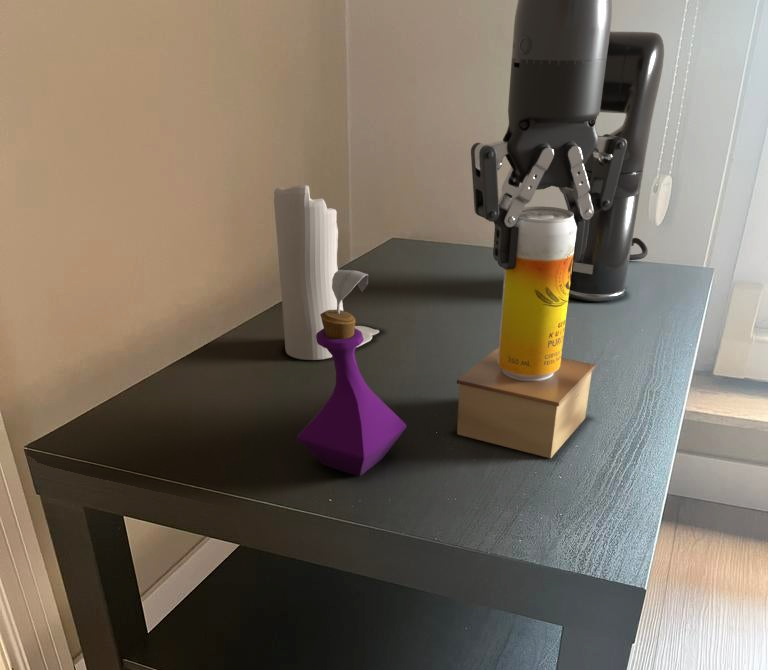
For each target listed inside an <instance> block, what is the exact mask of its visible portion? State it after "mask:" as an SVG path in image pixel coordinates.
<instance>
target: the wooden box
mask: <svg viewBox="0 0 768 670" xmlns="http://www.w3.org/2000/svg"><path fill="white" fill-rule="evenodd" d="M498 350H499V346H498V347H497V348H495V349H494V350H493V351H492V352H490V353H489V354H488V355H486V356H485V357H484V358H483V359H482V360H480V361H479V362H478V363H476V364H475V365H473V367H471V368H470V369H468V371H466V372H465V373H464V374H462V375H461V376H459V378H457V379H456V384H458V385H459V388H458V405H457V406H458V408H457V426H456V427H457V428H456V429H457V430H456V435H458V436H462V437H466V438H470V439H472V440H473V439H474V440H478V441H482V442H484V443H488V444H493V445H496V446H499V447H504V448H509V449H513V450H517V451H519V452H523V453H528V454H532V455H535V456H540V457H543V458H547V459H552V458H553V457H554V456H555V454H556V453H557V452H558V451H559V449H560V448H561V447H562V446H563V445H564V443H566V442H567V440H568V439H569V438H570V436H571V435H572V434H574V432H575V431H576V430H577V429H578V427H579V426H580V425H581V424H582V423H583V421H584V420H585V419H586V414H587V409H588V408H587V407H588V401H589V394H590V387H591V382H592V381H591V380H592V375H593V374H592V373H593V371H594V370H595V369H596V364H594V363H589V362H584V361H580V360H575V359H569V358H564V357H561V362H560V367H559V369H558V370H557V371H555V372H554V374H553V375H552V376H551V377H550V378H548V379H545V380H541V381H522V380H517V379H513V378H510V377H508V376H507V375H505V374H504V373H503V371H502V368H501V367H500V366H499V365H498Z"/></svg>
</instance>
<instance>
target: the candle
mask: <svg viewBox="0 0 768 670" xmlns="http://www.w3.org/2000/svg"><path fill="white" fill-rule="evenodd" d="M273 196H274V197H273V206H274V207H273V208H274V219H275V233H276V244H277V255H278V256H277V257H278V271H279V272H278V273H279V281H280V283H279V284H280V293H281V305H282V321H283V334H284V335H283V336H284V347H285V348H284V349H285V353H286V354H287V355H288V356H289V357H291V358H294V359H297V360H303V361H318V360H326V359H331V358H333V357H332V355H331V353H330V352H329V351H328V350H327V348H324V347H322V346H320V345H319V344H318V343H317V339H316V335H317V333H318V332H319V331H320V330H322V329H323V328H324V327H323V323H322V319H321V315H320V314H322V313H323V312H325V311H327V310H337V300H336V297H335V295H334V292H333V289H332V279H333V276H334V274H335V273H336V272H337V271H338V270H339V269H338V246H339V245H338V244H339V243H338V241H339V240H338V239H339V229H338V223H337V222H338V221H337V219H338V217H337V215H338V214H337V210H336V208H332V207H327V204H326V201H325V200H324V198H316V199H312V198H311V194H310V186H309V185H307V184H298V185H294V186H292V187H288V188H283V187H277V188H275V189H274V192H273ZM340 310H342V311H344V303H343V300H341V302H340ZM355 328H356V329H358V330H360V331H361V332H362V335H363V339H364V340H363V342H362V343H361V344H360V345H359V346H357V347H356V348H359V347H362V346H363V345H365V344H367V343H369V342H370V341H371V340H372V339H373V336H376V335H377V334H379V333H380V330H379V329H374V328H371V327H368V326H363V325H355Z"/></svg>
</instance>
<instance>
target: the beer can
mask: <svg viewBox="0 0 768 670" xmlns="http://www.w3.org/2000/svg"><path fill="white" fill-rule="evenodd" d="M515 226H516V227H518V239H517V251H516V263H515V268H514V269H509V270H505V269H504V272H503V285H502V299H501V313H500V327H499V337H498V338H499V339H498V347H499V350H498V365H499V366H500V367H501V368H502V371H503V373H504V374H505V375H507V376H508V377H510V378H513V379H517V380H522V381H541V380H545V379H548V378H550V377H551V376H552V375H553V374H554V372H555V371H557V370H558V369H559V367H560V362H561V358H562V353H563V345H564V338H565V337H564V336H565V330H566V321H567V311H568V305H569V304H568V303H569V298H570V297H569V289H570V280H571V272H572V264H573V256H574V248H575V240H576V231H577V226H576V223H575V220H574V214H573V212H571V211H569V210H568V209H565V208H561V207H555V206H526V207H525V206H524V208H523V210H522V212H521V214H520V216H519V218H518V220H517V223H516V224H515Z"/></svg>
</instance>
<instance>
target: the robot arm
mask: <svg viewBox="0 0 768 670" xmlns="http://www.w3.org/2000/svg"><path fill="white" fill-rule="evenodd" d="M612 2H613V1H612V0H517V4H516V9H515V14H514V16H515V17H514V22H513V33H512V34H513V35H512V49H511V50H512V51H511V64H510V76H509V77H510V78H509V89H508V90H509V91H508V92H509V94H508V105H507V115H508V117H507V118H508V126H507V130H506V132H505V133H504V136H503V138H502V140H499V141H496V142H491V143H487V144H485V143H481V142H475V143H474V144H473V145H472V146H471V147H470V159H471V160H470V161H471V176H472V190H473V193H472V194H473V207H474V213H475V214H476V215H477V216H479V217H481V218H483V219H485V220H486V221H489V222H491V223H492V222H493V224H494V233H493V247H492V255H493V259H494V261H496V262H497V265H498V266H499V267H500V268H503V269H504V271H505V270H509V269H514V268H515V263H516V251H517V239H518V227H516V226H515V224H516V223H517V220H518V218H519V216H520V214H521V212H522V210H523V208H525V206H526V205H527V204H529V203H530V202H531V200H532V199H533V196H534V194H535V193H536V191H537V190H545V189H548V188H550V187H555V188H558V190H559V191H560V193H562V195H563V198H564V201H565V204H566V207H567V210H569V211H571V212H573V214H574V220H575V223H576V226H577V231H576V240H575V248H574V256H573V264H572V272H571V280H570V289H569V297H568V298H571V299H575V300H579V301H584V302H585V301H586V302H611V301H614V300H615V301H616V300H619V299H621V298H623V297H624V296H625V293H626V280H627V275H628V270H629V264H630V263H629V262H630V261H637V260H642V259H644V258H646V257H647V256H648V253H649V251H648V250H649V249H648V246H647V245H646V244H645V242H644V241H642V239H640V238H638V237H634V231H635V225H636V219H637V213H638V208H639V201H640V193H641V187H642V181H643V174H644V169H645V161H646V155H647V151H648V144H649V140H650V139H649V138H650V132H651V127H652V121H653V116H654V111H655V106H656V102H657V97H658V92H659V88H660V83H661V79H662V73H663V67H664V59H665V44H664V40H663V37H662V36H661V35H660V34H659V33H657V32H651V31H611V28H612V15H613V14H612V13H613V11H612V9H613V8H612V7H613V5H612ZM600 113H607V114H608V113H609V114H625V116H624V117H625V119H624V121H623V123H622V125H620V127H619V128H617V129H616V130H615V129H614V131H611V132H610V133H605V134H603V135H598V131H597V127H596V126H597V125H596V121H597V118H598V116H599V115H600ZM504 157H505V158H506V160H507V162H508V163H509V165H510V169H509V171H508V172H507V175H506V177H505V180H504V182H503V184H502V185H501V193H500V196H499V180H498V179H499V178H498V171H499V170H500V169H501V168H502V165H503V159H504ZM635 244H636V245H637V246H638V247H639V248H640V249H641V252H640V253H636V254H631V251H632V247H635V246H634V245H635Z"/></svg>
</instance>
